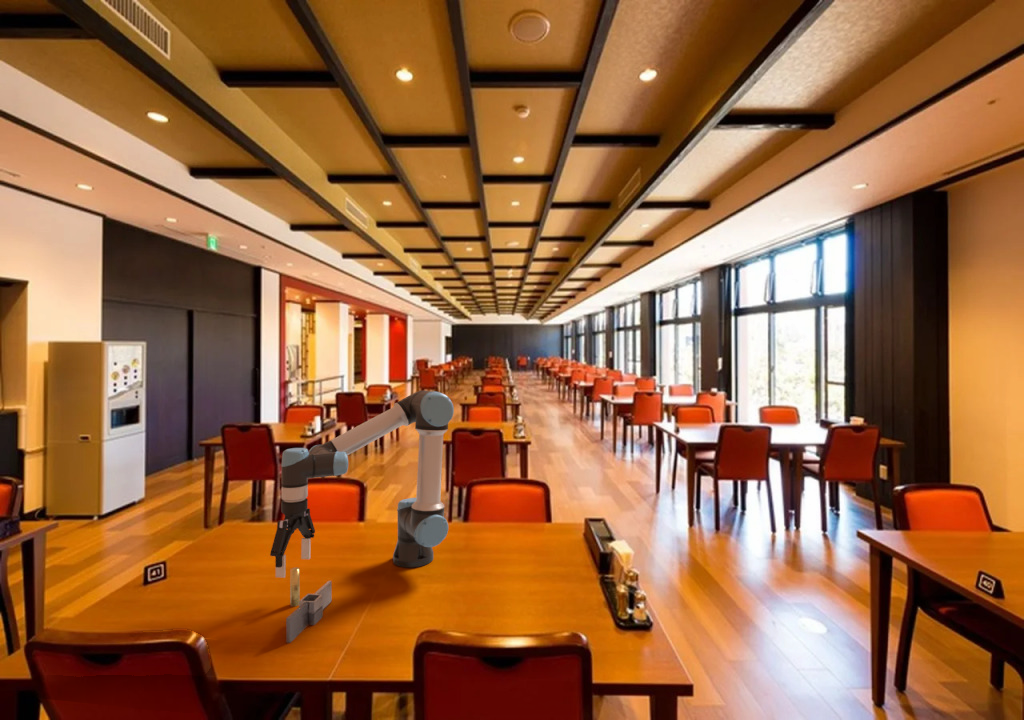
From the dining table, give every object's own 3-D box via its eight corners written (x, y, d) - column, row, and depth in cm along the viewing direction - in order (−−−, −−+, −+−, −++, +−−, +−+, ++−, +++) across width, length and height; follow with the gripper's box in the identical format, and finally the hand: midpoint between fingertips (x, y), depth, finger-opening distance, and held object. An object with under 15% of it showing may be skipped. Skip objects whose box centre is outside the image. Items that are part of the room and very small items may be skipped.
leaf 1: (323, 600, 154) (323, 580, 154) (337, 601, 153) (336, 581, 153) (299, 623, 141) (299, 601, 141) (314, 624, 140) (314, 602, 140)
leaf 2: (308, 615, 145) (308, 593, 145) (322, 616, 145) (322, 594, 145) (280, 642, 132) (280, 617, 132) (296, 643, 131) (296, 619, 131)
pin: (293, 602, 153) (293, 567, 153) (301, 602, 153) (301, 567, 153) (288, 606, 151) (288, 570, 151) (296, 606, 150) (296, 571, 150)
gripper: (305, 488, 165) (304, 551, 165) (257, 510, 140) (256, 584, 140) (326, 489, 164) (325, 552, 164) (281, 511, 139) (280, 586, 139)
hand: (293, 567), depth 152 cm, fingers open, 13 cm apart
